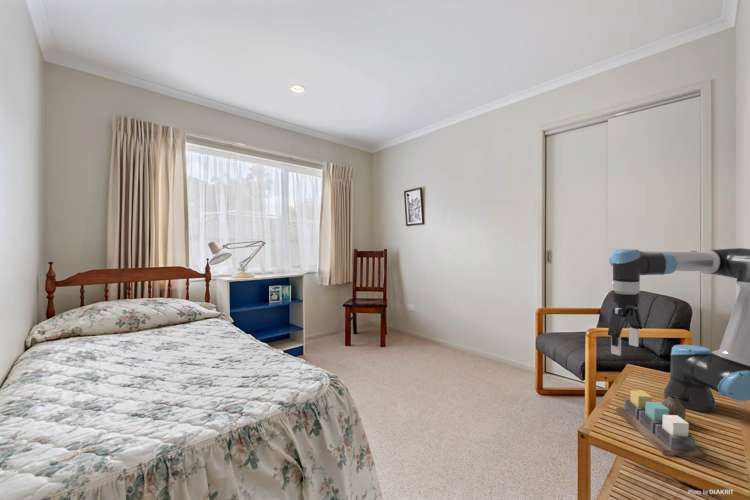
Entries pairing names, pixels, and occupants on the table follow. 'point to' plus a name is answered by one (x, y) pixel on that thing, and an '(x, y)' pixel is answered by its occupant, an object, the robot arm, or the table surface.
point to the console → (659, 433)
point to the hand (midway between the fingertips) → (625, 349)
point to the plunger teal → (656, 410)
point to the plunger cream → (675, 425)
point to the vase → (674, 407)
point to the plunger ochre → (639, 398)
